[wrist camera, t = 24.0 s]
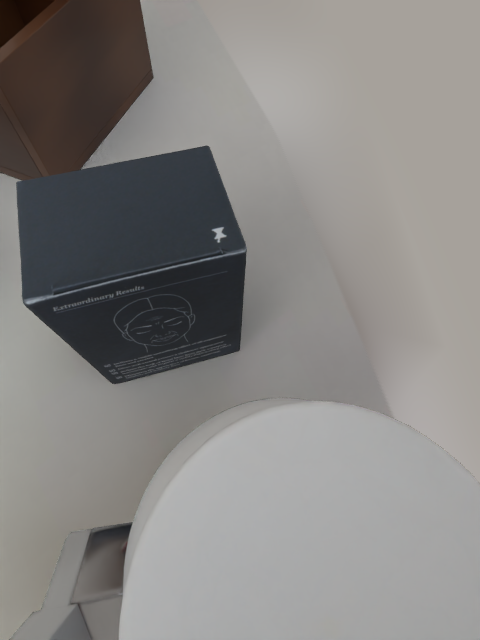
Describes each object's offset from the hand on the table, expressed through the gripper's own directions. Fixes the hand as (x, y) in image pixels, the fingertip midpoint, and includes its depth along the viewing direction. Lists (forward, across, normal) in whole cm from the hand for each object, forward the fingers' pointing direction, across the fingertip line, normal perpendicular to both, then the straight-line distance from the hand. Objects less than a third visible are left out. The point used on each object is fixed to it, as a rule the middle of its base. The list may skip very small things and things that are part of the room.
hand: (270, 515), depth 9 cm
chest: (+30, +12, -14) cm, 35 cm away
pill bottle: (+4, 0, +5) cm, 6 cm away
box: (+15, +3, +1) cm, 16 cm away
